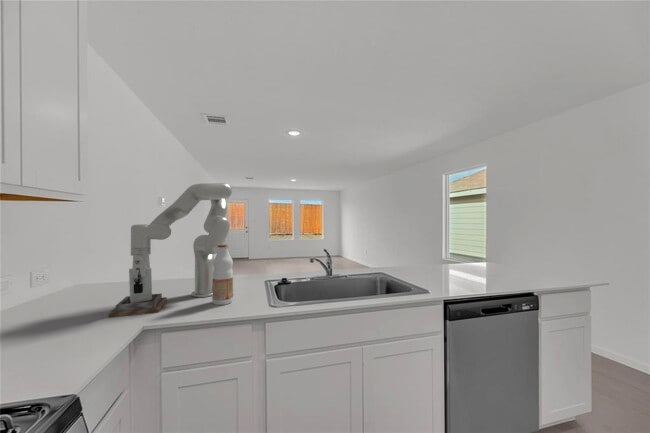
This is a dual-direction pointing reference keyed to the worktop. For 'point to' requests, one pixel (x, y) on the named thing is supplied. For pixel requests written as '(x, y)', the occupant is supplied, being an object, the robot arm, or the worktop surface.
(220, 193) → the robot arm
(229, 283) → the fruit juice
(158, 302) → the tray
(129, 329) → the worktop surface
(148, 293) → the skincare box
